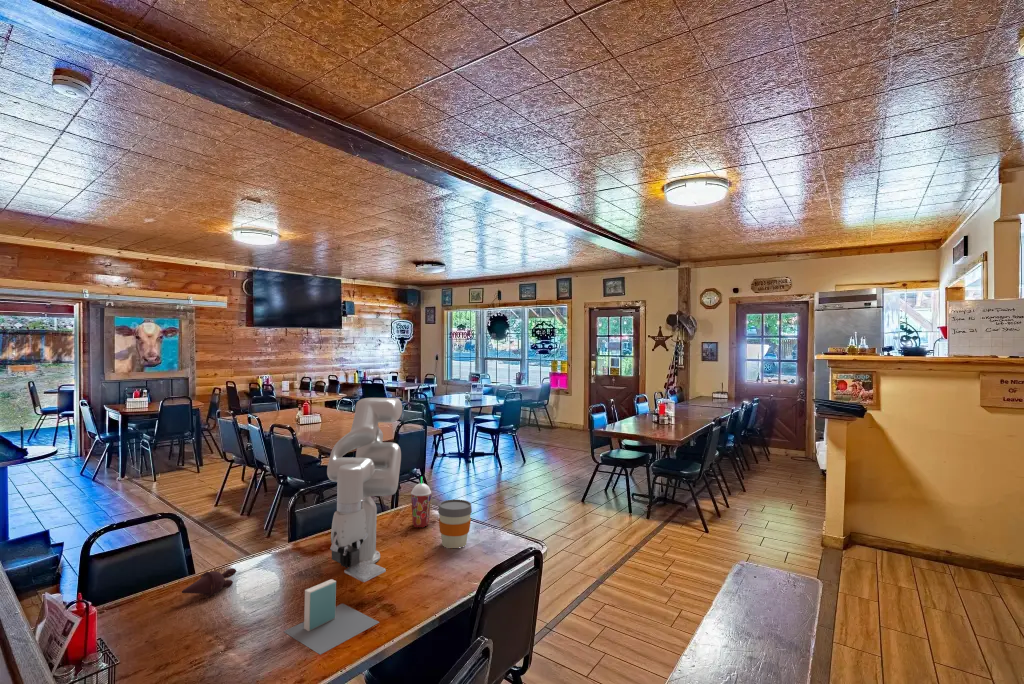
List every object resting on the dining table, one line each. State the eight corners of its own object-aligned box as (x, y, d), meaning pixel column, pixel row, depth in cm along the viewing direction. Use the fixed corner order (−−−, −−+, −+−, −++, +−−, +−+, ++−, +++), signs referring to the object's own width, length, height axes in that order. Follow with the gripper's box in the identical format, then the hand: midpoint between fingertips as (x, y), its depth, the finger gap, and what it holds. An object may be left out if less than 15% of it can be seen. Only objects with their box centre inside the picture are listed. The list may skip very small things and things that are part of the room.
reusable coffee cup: (453, 535, 201) (454, 497, 201) (477, 543, 194) (478, 503, 194) (430, 545, 191) (431, 505, 191) (455, 554, 184) (456, 512, 184)
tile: (304, 628, 133) (304, 590, 133) (330, 615, 140) (331, 579, 140) (309, 631, 132) (310, 592, 132) (335, 618, 139) (336, 581, 139)
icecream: (191, 587, 142) (243, 572, 155) (178, 573, 146) (231, 560, 159) (184, 610, 143) (237, 593, 155) (173, 596, 147) (225, 580, 159)
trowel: (324, 562, 159) (324, 546, 158) (346, 552, 165) (346, 537, 165) (363, 582, 148) (364, 565, 147) (385, 571, 154) (385, 555, 154)
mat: (283, 633, 132) (283, 631, 132) (342, 605, 147) (342, 603, 147) (320, 657, 123) (320, 654, 123) (379, 624, 137) (379, 622, 137)
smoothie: (434, 523, 213) (435, 475, 213) (423, 530, 206) (424, 480, 206) (418, 520, 217) (419, 473, 217) (406, 526, 209) (407, 477, 209)
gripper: (363, 495, 165) (363, 551, 167) (319, 510, 152) (318, 570, 153) (379, 500, 161) (378, 558, 162) (334, 516, 148) (333, 578, 149)
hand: (349, 563), depth 158 cm, fingers closed on trowel, 2 cm apart
